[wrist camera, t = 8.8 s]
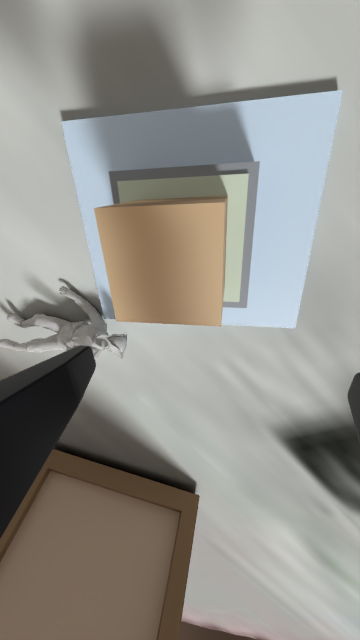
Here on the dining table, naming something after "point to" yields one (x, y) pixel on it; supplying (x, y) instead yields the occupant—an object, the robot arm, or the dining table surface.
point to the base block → (205, 182)
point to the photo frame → (95, 556)
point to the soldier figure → (69, 332)
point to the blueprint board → (220, 148)
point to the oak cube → (166, 259)
